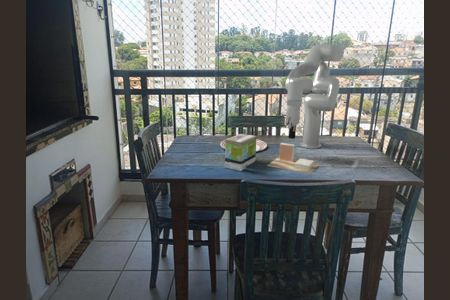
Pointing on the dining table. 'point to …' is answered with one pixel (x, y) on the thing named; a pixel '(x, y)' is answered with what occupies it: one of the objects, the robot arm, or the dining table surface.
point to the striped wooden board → (290, 165)
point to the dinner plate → (259, 145)
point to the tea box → (240, 151)
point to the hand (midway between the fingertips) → (291, 138)
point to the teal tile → (304, 164)
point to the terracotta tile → (286, 152)
